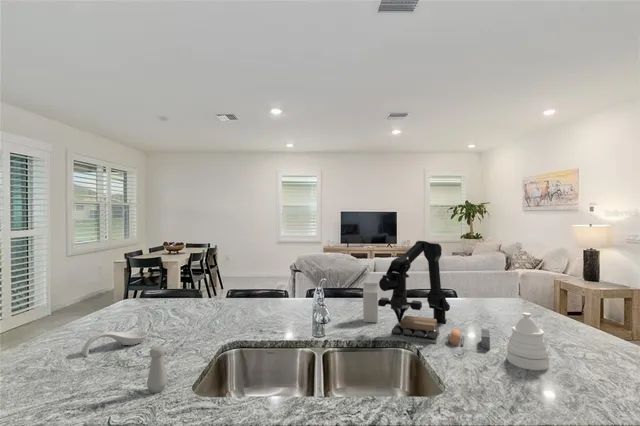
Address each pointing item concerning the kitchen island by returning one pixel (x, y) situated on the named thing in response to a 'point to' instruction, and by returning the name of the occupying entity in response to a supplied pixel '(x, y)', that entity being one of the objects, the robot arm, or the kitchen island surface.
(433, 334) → the track
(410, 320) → the slab
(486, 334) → the block
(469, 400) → the kitchen island surface
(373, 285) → the milk carton
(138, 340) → the spoon rest
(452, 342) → the roller
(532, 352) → the honey pot
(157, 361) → the salt shaker
